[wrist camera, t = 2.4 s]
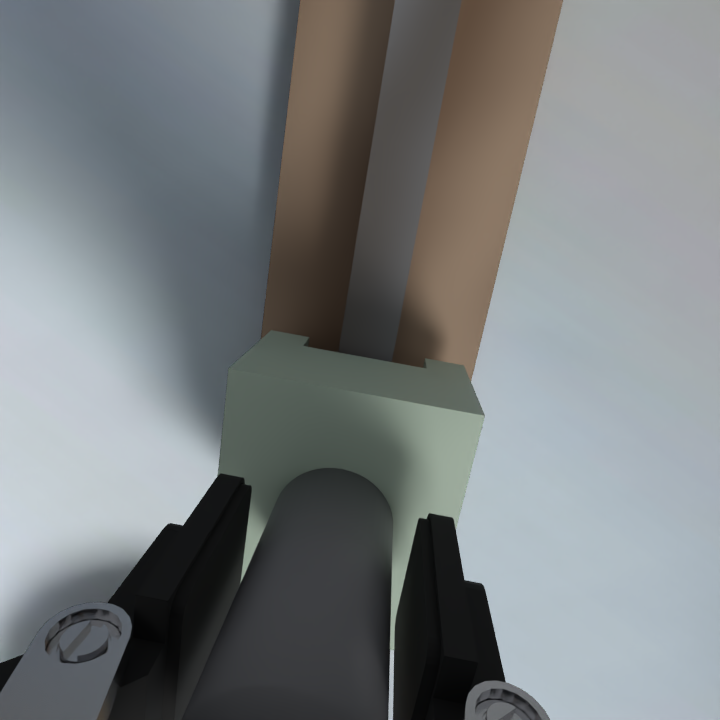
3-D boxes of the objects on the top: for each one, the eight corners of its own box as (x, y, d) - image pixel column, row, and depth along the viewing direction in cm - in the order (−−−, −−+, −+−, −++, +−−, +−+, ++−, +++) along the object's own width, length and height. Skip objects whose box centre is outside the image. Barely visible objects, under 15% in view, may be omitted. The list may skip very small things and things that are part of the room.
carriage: (463, 365, 16) (564, 607, 6) (418, 557, 18) (439, 974, 8) (271, 330, 16) (68, 511, 6) (247, 524, 18) (64, 893, 8)
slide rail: (592, -153, 14) (635, -235, 11) (430, 528, 20) (434, 574, 17) (331, -193, 14) (316, -282, 11) (248, 493, 20) (227, 534, 17)
